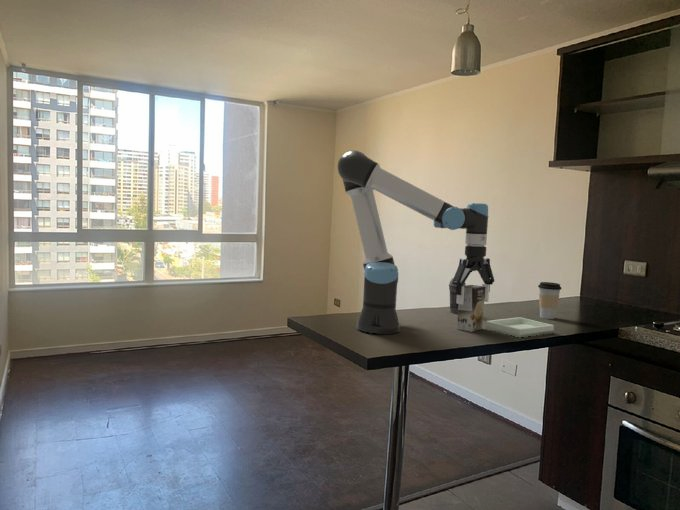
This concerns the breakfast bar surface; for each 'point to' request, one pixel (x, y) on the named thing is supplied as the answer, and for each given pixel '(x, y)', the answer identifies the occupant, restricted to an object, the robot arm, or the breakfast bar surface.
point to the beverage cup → (453, 297)
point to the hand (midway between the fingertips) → (472, 302)
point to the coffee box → (471, 308)
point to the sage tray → (519, 327)
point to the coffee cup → (548, 299)
